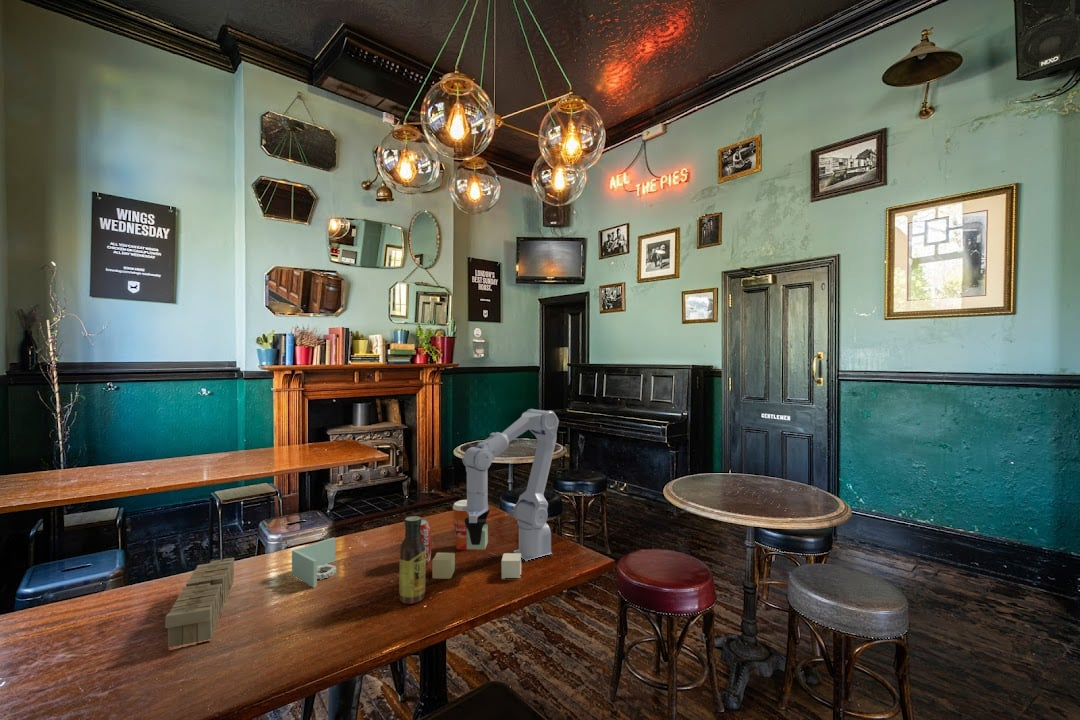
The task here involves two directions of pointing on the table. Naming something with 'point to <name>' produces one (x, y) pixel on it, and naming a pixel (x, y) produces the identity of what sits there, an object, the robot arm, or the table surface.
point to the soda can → (426, 537)
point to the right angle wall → (314, 561)
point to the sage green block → (483, 539)
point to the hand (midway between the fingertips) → (477, 540)
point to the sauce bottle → (412, 563)
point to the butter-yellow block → (443, 565)
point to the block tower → (200, 603)
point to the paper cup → (460, 524)
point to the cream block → (511, 565)
